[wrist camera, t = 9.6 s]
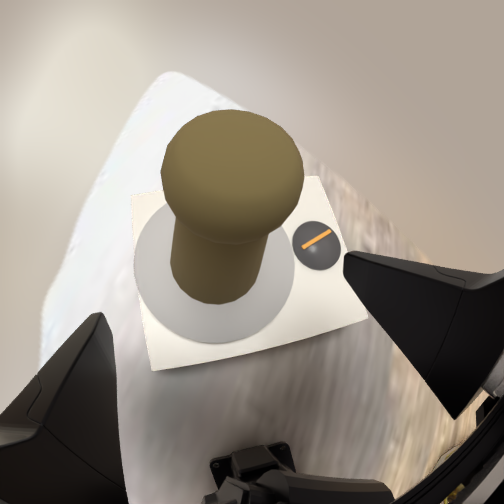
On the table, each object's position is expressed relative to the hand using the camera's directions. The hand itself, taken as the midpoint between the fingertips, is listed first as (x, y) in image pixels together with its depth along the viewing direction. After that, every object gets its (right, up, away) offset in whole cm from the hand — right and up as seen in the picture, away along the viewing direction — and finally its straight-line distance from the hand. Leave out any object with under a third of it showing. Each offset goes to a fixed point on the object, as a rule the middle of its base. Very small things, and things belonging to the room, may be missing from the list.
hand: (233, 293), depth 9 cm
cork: (-2, +1, +9) cm, 9 cm away
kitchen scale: (0, 0, +14) cm, 14 cm away
